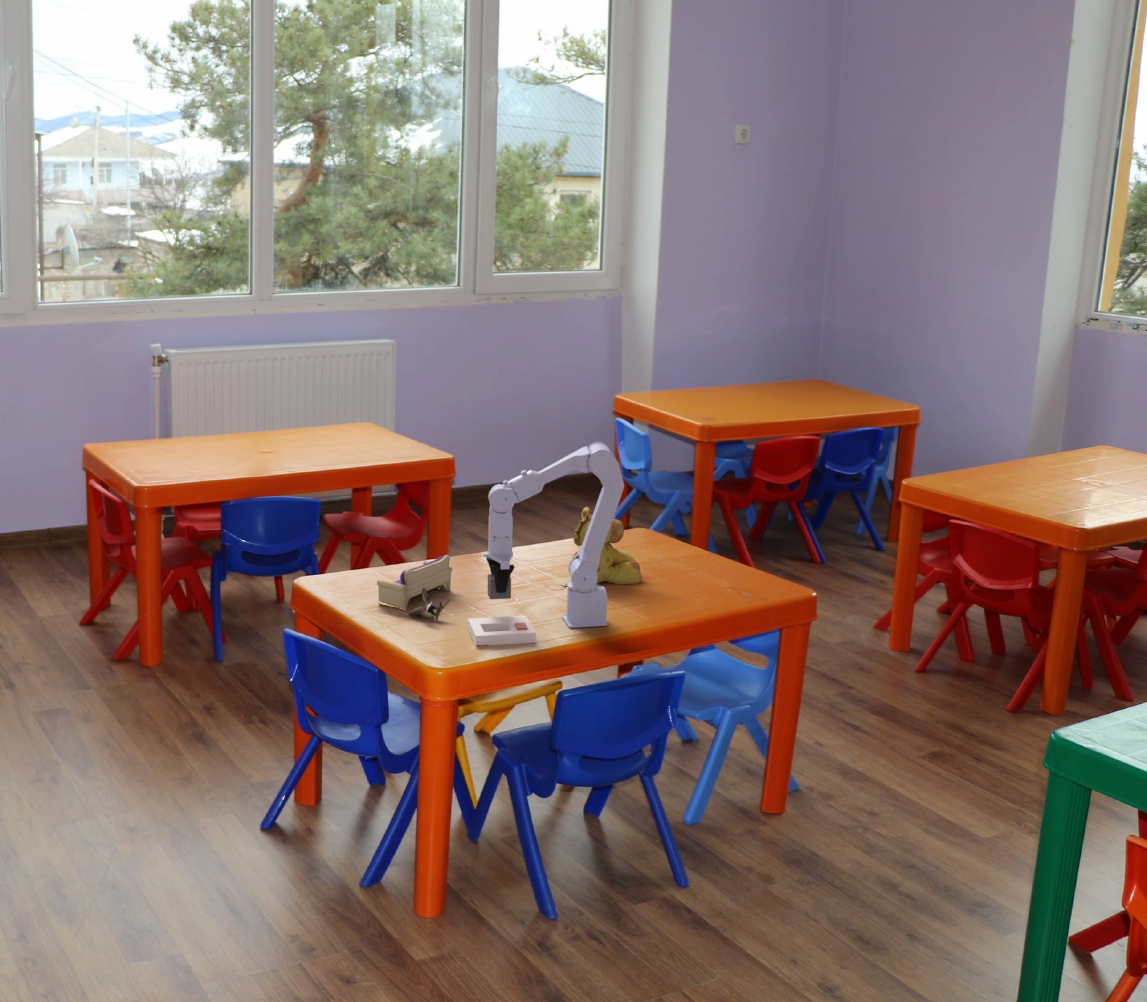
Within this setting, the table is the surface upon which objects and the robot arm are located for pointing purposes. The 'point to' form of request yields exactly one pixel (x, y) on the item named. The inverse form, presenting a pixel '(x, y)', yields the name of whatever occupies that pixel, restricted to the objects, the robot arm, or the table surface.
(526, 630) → the socket
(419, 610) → the eagle figurine
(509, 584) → the plug
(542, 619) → the table surface
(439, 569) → the toy sofa
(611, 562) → the giraffe plush
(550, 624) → the table surface
